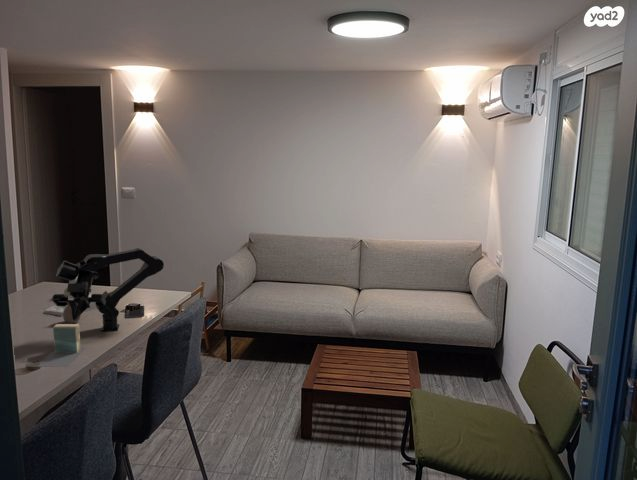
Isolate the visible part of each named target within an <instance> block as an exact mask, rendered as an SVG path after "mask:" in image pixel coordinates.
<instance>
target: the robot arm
mask: <svg viewBox="0 0 637 480" xmlns="http://www.w3.org/2000/svg"><path fill="white" fill-rule="evenodd" d="M134 260H140V261H141V262H143V264H142V265H141V267H140V269H139V270H137V271H136V272H134V274H133V275H131V276H129V278H128V279H126V280H125V281H123V282H122V283H121V284H120V285H119V286H118V287H116V288H115V289H114V290H112V291H110V292H108V291H107V290H105V291H104V292H103V293H92V294H91V297H88V296H89V294H90V293H91V292H92V284H93V280H97V279H98V278H99V277H100V274H99V272H97V271H98V270H99V271H100V270H101V269H104V268H105V267H108V266H110V265H115V264H118V263H123V262H129V261H134ZM164 266H165V265H164V262H163V260H162V259H160V258H159V257H157V256H153V255H150V254H148V252H147V253H146V252H145V250H143V249H142V248H139V247H137V248H134V249H128V250H125V251H124V250H123V251H118V252H113V253H107V254H101V253H94V254H93V253H91V254H88V255H86V256H85V257H84V258H83V260H81V261H79V262H77V263H76V264H75V263H72V262H69V261H68V260H63V261H62V263H61V264H60V265H59V266H58V268H57V271H56V273H55V277H57V278H59V279H63V280H66V281H68V282H69V281H72V280H75V279H76V278H77V281H76V283H74V284H69V283H67V286H66V288H67V292H70V295H72V297H67V296H66V295H65V294H64V293H55V294H53V295H52V297H51V301H52V302H53V304H54V305H56V306H66V305H69V306H70V307H71V310H72V318H73V320H76V319H77V318H78V317H79V316H80V315H82V314H83V313H84V312H86V311H85V310H86V309H87V308H90V306H89V305H90V303H91V302H96V304H95V305H96V307H97V309H96V310H98V312H99V313H101V314H102V316H101V317H102V327H101V330H100V331H101V332H113V331H118V330H119V328H120V324H119V323H118V316H119V314H120V311H119V309H117V306H118V304H119V302H120V300H121V299H123V298H124V297H125V296H127V294H129V293H130V292H131V291H132V290H134V288H136V287H137V286H138V285H140V284H141V283H142V282H143V281H144V280H146V279H147V278H149V277H151V276H154V275H156V274H158V273H160V272H161V271H162V270H163V269H164ZM77 276H78V277H77ZM77 303H78V305H77Z"/></svg>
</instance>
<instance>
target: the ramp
mask: <svg viewBox="0 0 637 480" xmlns="http://www.w3.org/2000/svg"><path fill="white" fill-rule="evenodd" d="M91 295H92V294H91V293H89V296H88V297H91ZM95 304H96V302H91V303H90V305H89V306H90V308H87V309H86V310H85V311H84V312H87V311H92V310H98V309H97V307H96V305H95ZM77 305H78V303H77ZM66 306H67V305H66ZM66 306H56V305H55V304H54V305H51V306H50V307H48V308H45V309H43V314H49V315H55V316H60V317H63V311H64V309H65V308H66Z"/></svg>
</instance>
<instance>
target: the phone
mask: <svg viewBox="0 0 637 480" xmlns="http://www.w3.org/2000/svg"><path fill="white" fill-rule="evenodd" d="M139 306H140V309H138V310H134V311H130V310H127V309H126V312H125V319H135V318H144V317H145V306H144V305H139Z"/></svg>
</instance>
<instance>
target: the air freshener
mask: <svg viewBox="0 0 637 480" xmlns="http://www.w3.org/2000/svg"><path fill="white" fill-rule="evenodd" d="M77 277H78V275H77ZM76 281H77V278H76V279H75V280H72V281H69V280H68V284H74V283H76ZM63 292H64V293H63V294H65V296H66V297H72V295H70V292H67V287H66V288H65V289H64V291H63Z"/></svg>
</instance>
